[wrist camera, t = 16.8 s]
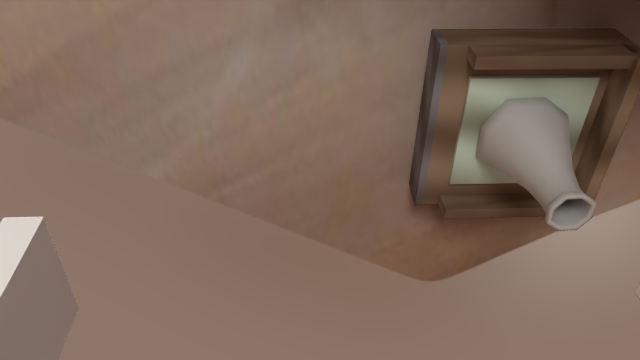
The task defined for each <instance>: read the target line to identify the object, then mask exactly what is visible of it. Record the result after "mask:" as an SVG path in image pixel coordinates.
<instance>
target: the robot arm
mask: <svg viewBox="0 0 640 360" xmlns="http://www.w3.org/2000/svg"><path fill="white" fill-rule="evenodd" d="M635 293H636V295H637V296H638V298H639V299H640V283H639V285H638V287H637V289H636V291H635ZM77 311H78V306H77V303H76V301H75V298H74V295H73V293H72V290H71V287H70V285H69V282H68V279H67V277H66V274H65V272H64V269H63V266H62V264H61V261H60V259H59V256H58V253H57V251H56V248H55V245H54V243H53V240H52V237H51V235H50V232H49V229H48V227H47V224H46V221H45V219H44V217H9V218H3V220H2V221H1V223H0V360H59V358H60V355H61V352H62V350H63V347H64V345H65V342H66V339H67V336H68V334H69V332H70V329H71V326H72V324H73V321H74V318H75V316H76V313H77Z"/></svg>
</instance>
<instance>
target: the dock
mask: <svg viewBox="0 0 640 360" xmlns="http://www.w3.org/2000/svg"><path fill="white" fill-rule="evenodd" d="M639 92H640V48H639V47H638V46H636V45H635V44H634V43H633V42H631V41H630V40H629V39H628V38H626V37H625V36H624V35H622V34H621V33H620V32H619V31H617V30H616V29H432V31H431V38H430V45H429V52H428V59H427V66H426V72H425V79H424V86H423V93H422V100H421V107H420V113H419V120H418V127H417V134H416V141H415V148H414V154H413V161H412V168H411V175H410V182H409V185H410V188H411V192H412V195H413V198H414V202H415V204H439V207H440V209H441V212H442V215H443V218H444V219H445V218H492V217H538V216H545V215H546V213H545V211H544V209H543V208H542V206H541V204H540V203H539V202H538V201H537V200H536V199H535V198H534V197H533V196H532V195H531V194H530V193H529V192H528V191H527V189H525V188H524V187H523V186H521V185H520V184H518V183H517V182H515V181H514V180H512V179H511V178H510V177H508V176H507V175H505V174H504V173H502V172H501V171H499V170H497V169H496V168H494V167H493V166H491V165H490V164H488V163H486V162H485V161H483V160H482V159H480V158H479V157H477V156H476V152H477V146H478V140H479V134H480V128H481V125H482V124H483V123H484V122H485V121H486V120H487V119H488V118H489V117H490V116H491V115H492V114H493V113H494V112H495V111H496V110H497V109H498V108H499V107H500V106H501V105H502V104H503V103H504V102H505V101H506V100H507V99H516V98H535V97H545V98H546V99H548V100H549V101H550V102H552V103H553V104H554V105H556V106H557V107H558V108H560V109H561V110H562V111H564V112H565V113H566V114H568V118H569V131H570V147H571V156H572V165H573V170H574V173H575V176H576V179H577V181H578V184H579V187H580V188H581V190H582V191H583V193H584V194H586V195H587V196H589V197H590V198H592V199H593V200H595V198H596V196H597V193H598V191H599V188H600V186H601V183H602V181H603V179H604V176H605V174H606V171H607V169H608V167H609V164H610V162H611V159H612V157H613V154H614V152H615V150H616V147H617V145H618V142H619V140H620V138H621V135H622V133H623V130H624V128H625V125H626V123H627V121H628V118H629V116H630V113H631V111H632V109H633V106H634V104H635V101H636V99H637V96H638V94H639Z"/></svg>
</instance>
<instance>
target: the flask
mask: <svg viewBox="0 0 640 360" xmlns="http://www.w3.org/2000/svg"><path fill="white" fill-rule="evenodd" d="M476 156H477V157H479V158H480V159H482V160H483V161H485V162H486V163H488V164H490V165H491V166H493V167H494V168H496V169H497V170H499V171H501V172H502V173H504V174H505V175H507V176H508V177H510V178H511V179H512V180H514V181H515V182H517V183H518V184H520V185H521V186H523V187H524V188H525V189H527V191H528V192H529V193H530V194H531V195H532V196H533V197H534V198H535V199H536V200H537V201H538V202H539V203H540V204H541V206H542V208H543V209H544V211H545V213H546V215H545V222H546V223H547V224H548V225H550V226H551V227H553V228H555V229H556V230H558V231H565V230H577V229H578V228H580V227H581V226H582V225H584V224H585V223H586V222H587V221H589V220H590V219H591V218H592V216H593V213H594V211H595V208H596V205H597V203H596V201H595V200H593V199H592V198H590V197H589V196H587V195H586V194H584V193H583V191H582V190H581V188H580V187H579V184H578V181H577V179H576V176H575V173H574V170H573V165H572V156H571V147H570V131H569V118H568V114H566V113H565V112H564V111H562V110H561V109H560V108H558V107H557V106H556V105H554V104H553V103H552V102H550V101H549V100H548V99H546V98H545V97H535V98H516V99H507V100H506V101H505V102H504V103H503V104H502V105H501V106H500V107H499V108H498V109H497V110H496V111H495V112H494V113H493V114H492V115H491V116H490V117H489V118H488V119H487V120H486V121H485V122H484V123H483V124H482V125H481V128H480V134H479V140H478V146H477V152H476Z"/></svg>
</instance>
